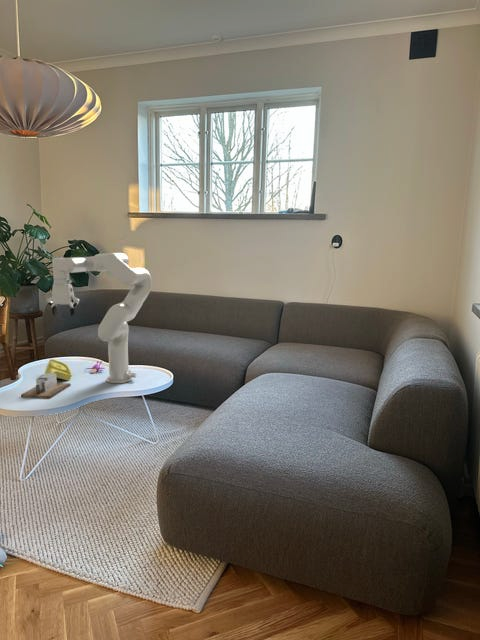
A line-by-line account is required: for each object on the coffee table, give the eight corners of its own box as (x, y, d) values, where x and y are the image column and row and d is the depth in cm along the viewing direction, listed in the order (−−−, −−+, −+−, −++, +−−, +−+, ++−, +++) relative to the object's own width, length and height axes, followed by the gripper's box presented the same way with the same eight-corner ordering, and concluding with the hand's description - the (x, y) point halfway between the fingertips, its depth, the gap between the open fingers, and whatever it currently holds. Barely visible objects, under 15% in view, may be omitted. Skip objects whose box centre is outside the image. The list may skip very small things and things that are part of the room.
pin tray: (70, 385, 208) (69, 375, 207) (50, 398, 190) (49, 387, 189) (43, 384, 209) (43, 374, 209) (21, 397, 192) (20, 386, 191)
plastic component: (73, 375, 216) (52, 370, 211) (66, 389, 216) (46, 383, 211) (67, 363, 234) (48, 357, 228) (61, 376, 233) (42, 370, 228)
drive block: (57, 385, 205) (56, 373, 204) (45, 392, 195) (44, 379, 194) (49, 385, 205) (48, 373, 204) (37, 391, 195) (36, 379, 194)
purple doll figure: (108, 359, 237) (101, 371, 226) (110, 364, 238) (102, 376, 227) (89, 360, 238) (81, 372, 227) (90, 364, 239) (82, 377, 228)
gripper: (81, 281, 219) (83, 314, 222) (49, 281, 221) (52, 313, 224) (74, 282, 212) (76, 316, 215) (41, 282, 214) (44, 316, 217)
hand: (64, 315), depth 219 cm, fingers open, 9 cm apart
